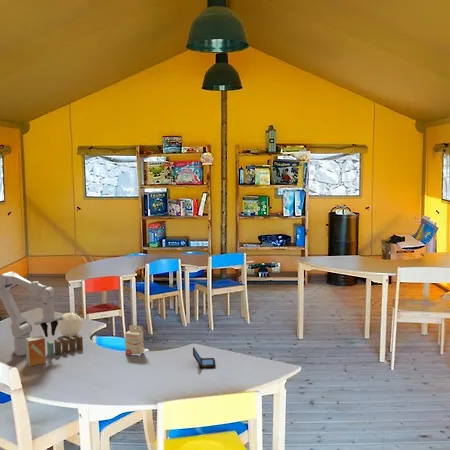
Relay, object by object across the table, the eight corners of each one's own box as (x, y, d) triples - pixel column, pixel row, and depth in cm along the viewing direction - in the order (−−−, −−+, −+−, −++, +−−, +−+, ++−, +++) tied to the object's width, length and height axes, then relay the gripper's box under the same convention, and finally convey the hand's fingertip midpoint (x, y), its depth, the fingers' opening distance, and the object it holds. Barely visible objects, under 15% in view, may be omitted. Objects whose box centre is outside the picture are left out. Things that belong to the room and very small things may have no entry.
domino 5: (80, 350, 304) (79, 337, 304) (76, 347, 308) (75, 335, 307) (82, 349, 305) (82, 336, 304) (79, 347, 309) (78, 334, 308)
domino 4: (73, 351, 302) (72, 339, 301) (69, 349, 306) (68, 336, 305) (75, 351, 303) (75, 338, 302) (72, 348, 307) (71, 336, 306)
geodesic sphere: (76, 319, 342) (64, 304, 334) (92, 323, 334) (80, 307, 325) (61, 339, 333) (48, 324, 325) (77, 343, 325) (64, 328, 317)
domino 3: (65, 353, 300) (65, 340, 299) (62, 350, 303) (61, 338, 303) (68, 352, 300) (68, 339, 300) (65, 350, 304) (64, 337, 304)
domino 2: (58, 355, 297) (57, 342, 296) (54, 352, 301) (54, 339, 300) (61, 354, 298) (60, 341, 297) (57, 351, 302) (57, 339, 301)
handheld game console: (215, 368, 275) (215, 354, 274) (193, 369, 274) (192, 354, 273) (214, 359, 287) (214, 345, 286) (193, 360, 286) (192, 346, 286)
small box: (29, 366, 281) (28, 341, 279) (26, 363, 286) (25, 338, 284) (46, 363, 285) (45, 338, 284) (42, 359, 290) (41, 335, 289)
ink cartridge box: (125, 354, 296) (124, 327, 294) (129, 351, 301) (128, 324, 299) (139, 356, 293) (138, 328, 291) (144, 353, 298) (143, 326, 296)
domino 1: (51, 356, 295) (50, 343, 294) (47, 354, 299) (46, 341, 298) (54, 356, 296) (53, 343, 295) (50, 353, 300) (49, 340, 299)
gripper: (37, 314, 287) (38, 340, 288) (64, 309, 296) (66, 334, 297) (32, 311, 292) (33, 337, 294) (59, 307, 301) (60, 331, 303)
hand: (49, 335), depth 296 cm, fingers open, 3 cm apart
